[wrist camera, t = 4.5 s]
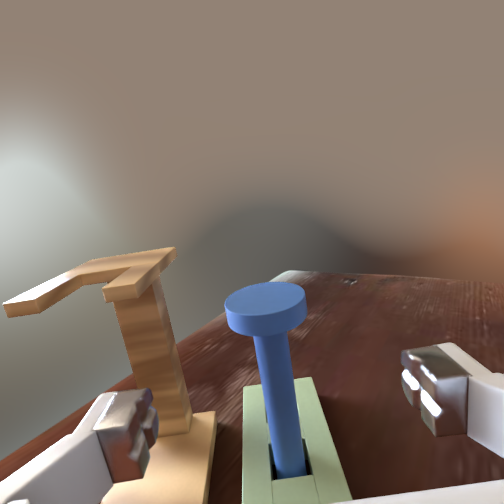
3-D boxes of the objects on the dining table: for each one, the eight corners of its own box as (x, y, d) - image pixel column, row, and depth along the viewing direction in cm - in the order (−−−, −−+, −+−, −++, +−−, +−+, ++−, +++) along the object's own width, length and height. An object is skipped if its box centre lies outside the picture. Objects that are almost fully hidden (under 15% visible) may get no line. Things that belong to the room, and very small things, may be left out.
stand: (204, 533, 23) (139, 282, 18) (92, 548, 23) (-3, 304, 18) (217, 421, 34) (179, 245, 29) (140, 432, 34) (89, 259, 29)
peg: (275, 442, 30) (249, 280, 26) (335, 462, 27) (315, 282, 23) (246, 500, 25) (208, 310, 21) (315, 533, 22) (286, 319, 18)
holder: (313, 394, 35) (311, 376, 35) (355, 527, 22) (353, 501, 21) (246, 404, 35) (243, 386, 35) (247, 542, 22) (241, 517, 21)
